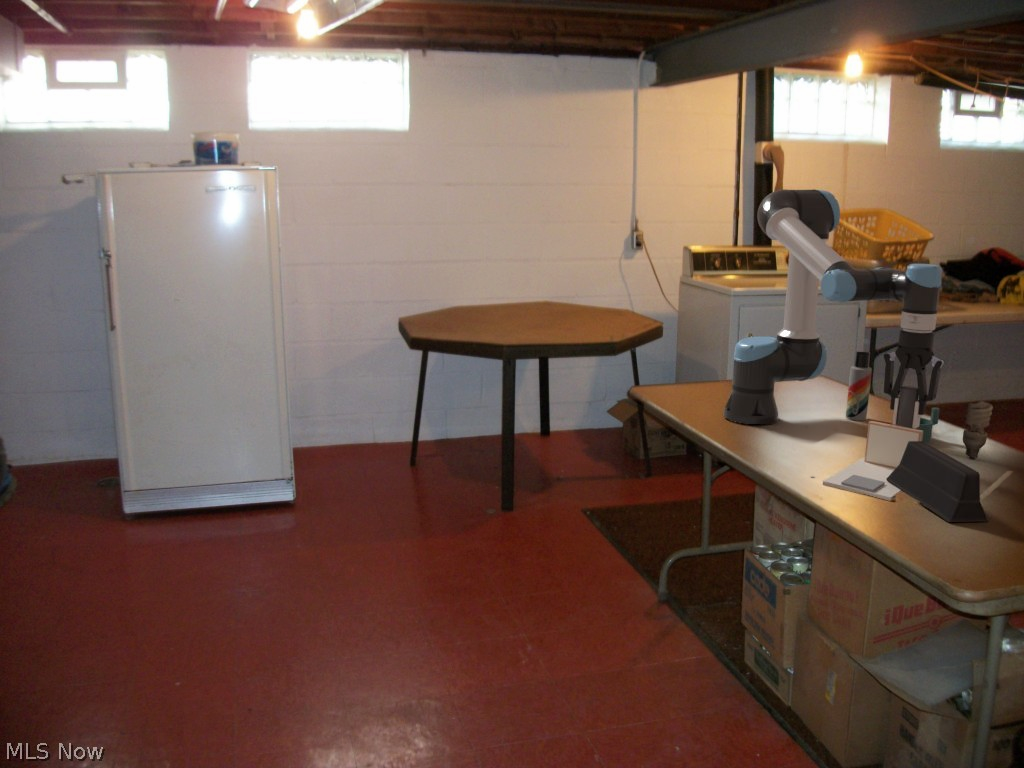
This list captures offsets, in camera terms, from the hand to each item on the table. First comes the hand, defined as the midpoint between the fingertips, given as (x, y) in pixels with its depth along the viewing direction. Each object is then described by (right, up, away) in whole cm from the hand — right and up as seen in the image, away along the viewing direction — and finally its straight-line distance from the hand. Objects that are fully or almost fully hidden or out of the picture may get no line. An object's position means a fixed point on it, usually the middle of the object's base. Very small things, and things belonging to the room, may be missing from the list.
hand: (905, 425), depth 210 cm
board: (-11, -12, -9) cm, 19 cm away
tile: (-5, -10, -3) cm, 12 cm away
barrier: (-5, -15, -24) cm, 29 cm away
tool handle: (0, -3, +1) cm, 3 cm away
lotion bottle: (+5, 0, +42) cm, 42 cm away
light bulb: (+19, -9, +5) cm, 22 cm away
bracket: (+12, -5, +23) cm, 27 cm away
